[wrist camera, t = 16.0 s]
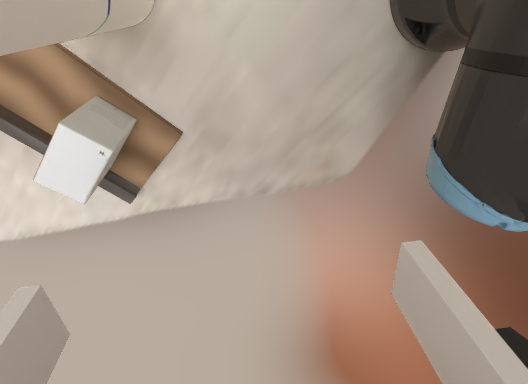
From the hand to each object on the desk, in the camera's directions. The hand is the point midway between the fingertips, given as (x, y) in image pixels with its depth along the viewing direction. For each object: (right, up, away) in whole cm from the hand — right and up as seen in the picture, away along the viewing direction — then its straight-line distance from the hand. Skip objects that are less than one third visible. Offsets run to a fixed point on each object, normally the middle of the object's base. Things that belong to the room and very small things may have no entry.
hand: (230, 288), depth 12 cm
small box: (-20, +12, +30) cm, 38 cm away
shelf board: (-22, +14, +30) cm, 40 cm away
